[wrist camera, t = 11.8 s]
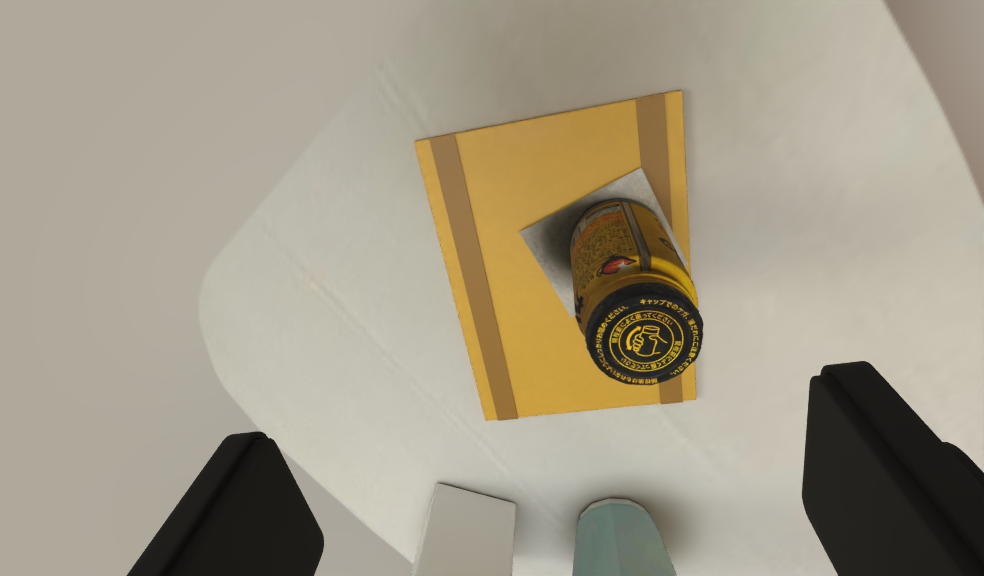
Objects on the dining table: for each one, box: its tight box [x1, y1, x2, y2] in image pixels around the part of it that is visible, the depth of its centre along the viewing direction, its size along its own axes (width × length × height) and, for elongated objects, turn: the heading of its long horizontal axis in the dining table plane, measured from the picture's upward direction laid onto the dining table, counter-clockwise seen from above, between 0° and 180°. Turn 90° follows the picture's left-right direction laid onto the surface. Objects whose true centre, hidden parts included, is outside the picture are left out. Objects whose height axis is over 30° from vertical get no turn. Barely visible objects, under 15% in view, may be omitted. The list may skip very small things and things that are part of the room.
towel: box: [414, 90, 696, 421], centre depth 37 cm, size 22×16×1 cm
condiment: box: [519, 168, 703, 385], centre depth 30 cm, size 7×8×12 cm
